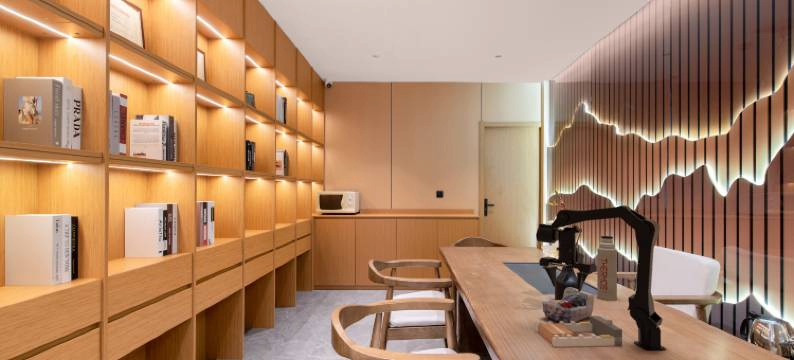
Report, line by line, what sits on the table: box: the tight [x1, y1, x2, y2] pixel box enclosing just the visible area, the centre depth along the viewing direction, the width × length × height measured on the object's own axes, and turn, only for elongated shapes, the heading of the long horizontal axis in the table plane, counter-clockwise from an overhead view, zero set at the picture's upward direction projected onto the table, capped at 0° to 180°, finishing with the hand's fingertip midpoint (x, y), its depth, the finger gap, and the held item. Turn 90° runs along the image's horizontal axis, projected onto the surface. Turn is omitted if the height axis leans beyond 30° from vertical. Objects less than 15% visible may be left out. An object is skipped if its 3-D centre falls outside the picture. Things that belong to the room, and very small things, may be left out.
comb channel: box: [535, 315, 623, 348], centre depth 144 cm, size 15×22×6 cm
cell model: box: [541, 287, 595, 323], centre depth 166 cm, size 13×11×20 cm
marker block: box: [539, 323, 575, 344], centre depth 144 cm, size 10×7×4 cm
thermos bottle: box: [596, 235, 618, 301], centre depth 197 cm, size 8×8×28 cm
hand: (566, 289), depth 154 cm, fingers open, 9 cm apart
